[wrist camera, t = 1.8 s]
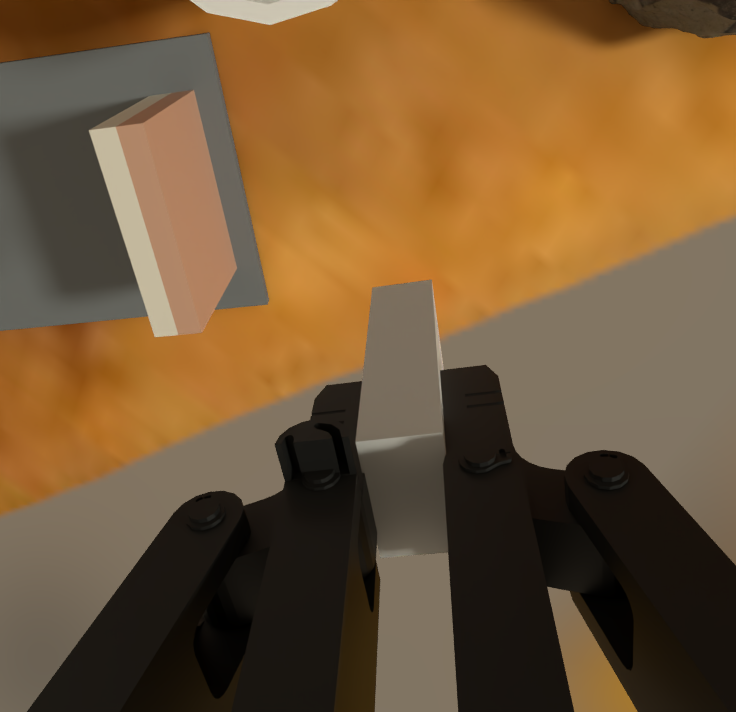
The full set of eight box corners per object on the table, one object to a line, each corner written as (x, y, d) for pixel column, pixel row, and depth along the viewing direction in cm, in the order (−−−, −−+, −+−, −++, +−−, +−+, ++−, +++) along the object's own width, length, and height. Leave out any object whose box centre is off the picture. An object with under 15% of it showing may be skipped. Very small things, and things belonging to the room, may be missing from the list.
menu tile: (149, 95, 37) (88, 130, 30) (193, 89, 36) (142, 123, 30) (197, 272, 42) (154, 337, 35) (236, 268, 41) (201, 332, 34)
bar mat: (-116, 79, 38) (-124, 81, 37) (209, 32, 36) (206, 33, 35) (-6, 327, 45) (-11, 331, 44) (268, 299, 43) (267, 304, 42)
